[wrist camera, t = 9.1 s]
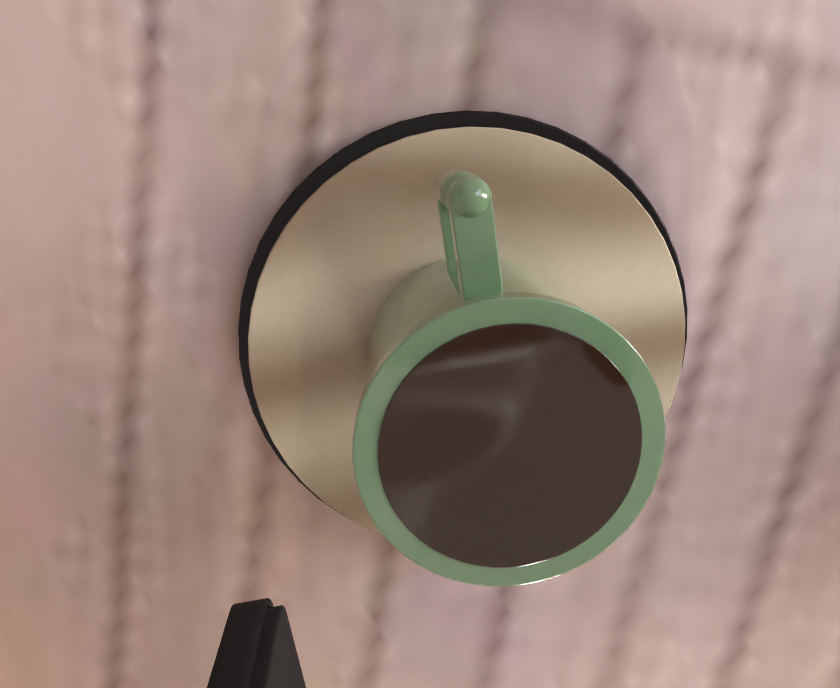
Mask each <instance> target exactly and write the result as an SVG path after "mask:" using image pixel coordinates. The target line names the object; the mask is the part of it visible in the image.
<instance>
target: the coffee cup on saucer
mask: <svg viewBox="0 0 840 688" xmlns="http://www.w3.org/2000/svg"><path fill="white" fill-rule="evenodd" d="M684 348H685V314H684V305H683V296H682V290H681V286H680V282H679V279H678V275H677V271H676V267H675V264H674V262H673V259H672V257H671V254H670V252H669V250H668V247H667V245H666V242H665V240H664V238H663V237H662V235H661V233H660V232H659V230H658V228H657V226H656V225H655V223H654V221H653V220H652V218H651V216H650V215H649V214H648V212H647V211H646V210H645V209H644V207H643V206H642V205H641V204H640V202H639V201H638V200H637V199H636V197H635V196H634V195H633V194H632V193H631V192H630V191H629V190H628V189H627V188H626V187H625V186H624V185H623V184H622V183H621V182H619V181H618V180H617V179H616V178H615V177H614V176H613V175H612V174H611V173H609V172H608V171H606V170H605V169H604V168H602V167H601V166H599V165H598V164H596V163H595V162H594V161H592V160H591V159H589V158H588V157H586V156H584V155H582V154H580V153H578V152H576V151H574V150H572V149H570V148H568V147H566V146H564V145H562V144H560V143H557V142H554V141H551V140H548V139H545V138H543V137H540V136H537V135H534V134H530V133H525V132H519V131H514V130H509V129H503V128H489V127H459V128H448V129H438V130H433V131H429V132H424V133H420V134H416V135H411V136H407V137H404V138H402V139H399V140H397V141H394V142H391V143H389V144H386V145H383V146H381V147H378V148H376V149H375V150H373V151H371V152H369V153H367V154H365V155H364V156H362V157H360V158H358V159H356V160H354V161H353V162H351V163H350V164H348V165H347V166H345V167H344V168H343V169H341V170H340V171H339V172H337V173H336V174H335V175H333V176H332V177H331V178H329V179H328V180H327V181H326V182H324V183H323V184H322V185H321V186H320V187H319V188H318V189H317V190H316V191H315V192H314V193H313V194H312V195H311V196H310V197H309V198H308V199H307V200H306V201H305V202H304V203H303V204H302V206H301V207H300V208H299V209H298V211H297V212H296V213H295V215H294V216H293V217H292V218H291V220H290V221H289V222H288V224H287V225H286V226H285V227H284V229H283V231H282V233H281V234H280V236H279V238H278V239H277V241H276V243H275V245H274V246H273V248H272V250H271V252H270V253H269V256H268V258H267V261H266V263H265V266H264V268H263V270H262V273H261V275H260V278H259V280H258V284H257V288H256V292H255V296H254V300H253V304H252V308H251V315H250V324H249V333H248V352H249V369H250V374H251V380H252V386H253V392H254V395H255V398H256V402H257V405H258V408H259V411H260V414H261V418H262V420H263V422H264V424H265V426H266V428H267V430H268V432H269V435H270V437H271V439H272V441H273V443H274V444H275V446H276V447H277V449H278V450H279V452H280V454H281V455H282V457H283V458H284V460H285V461H286V463H287V464H288V466H289V467H290V468H291V469H292V470H293V471H294V472H295V474H296V475H297V476H298V477H299V478H300V479H301V481H302V482H303V483H304V484H305V485H306V486H307V487H308V488H309V489H310V490H311V491H313V492H314V493H315V494H316V495H317V496H318V497H319V498H320V499H322V500H323V501H324V502H325V503H326V504H328V505H329V506H331V507H332V508H334V509H335V510H337V511H338V512H339V513H341V514H342V515H344V516H345V517H347V518H349V519H351V520H353V521H355V522H357V523H359V524H360V525H362V526H364V527H366V528H368V529H370V530H373V531H376V532H379V533H381V534H383V535H384V536H385V538H386V539H387V540H388V541H389V542H390V543H391V544H392V545H393V546H394V547H395V548H397V549H398V550H399V551H400V552H401V553H402V554H403V555H405V556H406V557H408V558H409V559H410V560H412V561H413V562H415V563H416V564H418V565H419V566H421V567H423V568H425V569H427V570H429V571H431V572H433V573H435V574H438V575H441V576H443V577H446V578H449V579H452V580H455V581H460V582H464V583H468V584H474V585H483V586H515V585H524V584H530V583H534V582H539V581H543V580H547V579H550V578H553V577H556V576H559V575H562V574H564V573H567V572H569V571H571V570H573V569H575V568H577V567H579V566H581V565H583V564H585V563H586V562H588V561H590V560H591V559H593V558H594V557H596V556H597V555H599V554H600V553H602V552H603V551H604V550H605V549H607V548H608V547H609V546H610V545H612V544H613V543H614V542H615V541H616V540H617V539H618V538H619V537H620V536H621V535H622V534H623V533H624V532H625V531H626V530H627V529H628V528H629V526H630V525H631V524H632V523H633V521H634V520H635V519H636V518H637V516H638V515H639V514H640V512H641V510H642V509H643V507H644V505H645V504H646V502H647V500H648V499H649V497H650V495H651V492H652V490H653V488H654V486H655V483H656V481H657V478H658V475H659V471H660V468H661V465H662V460H663V453H664V447H665V417H666V415H667V412H668V410H669V408H670V405H671V403H672V401H673V398H674V394H675V391H676V388H677V384H678V381H679V377H680V374H681V367H682V361H683V355H684Z"/></svg>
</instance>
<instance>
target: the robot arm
mask: <svg viewBox="0 0 840 688" xmlns="http://www.w3.org/2000/svg"><path fill="white" fill-rule="evenodd" d="M207 688H306V686H305V682H304V678H303V675H302V671H301V667H300V663H299V659H298V655H297V651H296V647H295V643H294V640H293V636H292V632H291V628H290V624H289V620H288V616H287V613H286V609H285V607H284V606H283V605H281V606H275V607H274V606H273V603H272V601H271V600H270V599H269V598H265V599H260V600H254V601H248V602H243V603H237V604H234V605H232V607H231V609H230V612H229V616H228V619H227V622H226V626H225V629H224V632H223V636H222V639H221V642H220V646H219V649H218V652H217V656H216V659H215V662H214V666H213V669H212V672H211V676H210V679H209V682H208V686H207Z"/></svg>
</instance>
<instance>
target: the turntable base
mask: <svg viewBox="0 0 840 688" xmlns="http://www.w3.org/2000/svg"><path fill="white" fill-rule="evenodd" d="M459 127H489V128H503V129H509V130H514V131H519V132H525V133H530V134H534V135H537V136H540V137H543V138H545V139H548V140H551V141H554V142H557V143H560V144H562V145H564V146H566V147H568V148H570V149H572V150H574V151H576V152H578V153H580V154H582V155H584V156H586V157H588V158H589V159H591V160H592V161H594V162H595V163H596V164H598V165H599V166H601V167H602V168H604V169H605V170H606V171H608V172H609V173H611V174H612V175H613V176H614V177H615V178H616V179H617V180H618V181H619V182H621V183H622V184H623V185H624V186H625V187H626V188H627V189H628V190H629V191H630V192H631V193H632V194H633V195H634V196H635V197H636V199H637V200H638V201H639V202H640V204H641V205H642V206H643V207H644V209H645V210H646V211H647V212H648V214H649V215H650V216H651V218H652V220H653V221H654V223H655V225H656V226H657V228H658V230H659V232H660V233H661V235H662V237H663V238H664V240H665V242H666V245H667V247H668V250H669V252H670V254H671V257H672V259H673V262H674V264H675V267H676V271H677V275H678V279H679V282H680V286H681V290H682V296H683V305H684V314H685V346H686V339H687V303H686V295H685V286H684V280H683V276H682V272H681V268H680V264H679V260H678V257H677V253H676V251H675V248H674V246H673V244H672V241H671V239H670V236H669V234H668V232H667V229H666V227H665V225H664V224H663V222H662V220H661V218H660V217H659V215H658V213H657V212H656V210H655V208H654V207H653V205H652V203H651V202H650V201H649V199H648V198H647V197H646V196H645V194H644V193H643V192H642V191H641V189H640V188H639V187H638V186H637V184H636V183H635V182H634V181H633V179H632V178H630V177H629V176H628V175H627V174H626V173H625V172H624V171H623V170H622V169H621V168H620V167H619V166H618V165H616V164H615V163H614V162H613V161H612V160H611V159H610V158H608V157H607V156H606V155H604V154H603V153H601V152H600V151H598V150H597V149H596V148H594V147H593V146H591V145H590V144H588V143H587V142H585V141H583V140H581V139H579V138H577V137H575V136H573V135H571V134H569V133H567V132H565V131H563V130H561V129H559V128H557V127H554V126H551V125H548V124H545V123H542V122H539V121H536V120H533V119H530V118H527V117H521V116H516V115H510V114H505V113H500V112H486V111H456V112H445V113H435V114H429V115H425V116H421V117H417V118H412V119H408V120H404V121H400V122H398V123H395V124H392V125H390V126H387V127H385V128H382V129H380V130H377V131H374V132H372V133H370V134H368V135H366V136H364V137H362V138H361V139H359V140H357V141H355V142H353V143H352V144H350V145H348V146H346V147H344V148H343V149H341V150H340V151H339V152H337V153H336V154H335V155H333V156H332V157H331V158H329V159H328V160H327V161H325V162H324V163H323V164H321V165H320V166H319V167H317V168H316V169H315V170H314V171H313V172H312V173H311V174H310V175H309V176H308V177H307V178H306V179H305V180H304V181H303V182H302V183H301V184H300V185H299V186H298V187H297V188H296V189H295V190H294V191H293V192H292V194H291V195H290V196H289V198H288V199H287V200H286V201H285V203H284V204H283V205H282V207H281V208H280V209H279V211H278V212H277V213H276V214H275V216H274V218H273V219H272V221H271V223H270V225H269V226H268V228H267V230H266V232H265V234H264V235H263V237H262V239H261V241H260V242H259V245H258V247H257V250H256V252H255V255H254V257H253V260H252V263H251V265H250V268H249V270H248V274H247V278H246V282H245V286H244V290H243V294H242V298H241V307H240V317H239V326H238V334H239V358H240V364H241V370H242V375H243V381H244V386H245V389H246V392H247V395H248V398H249V401H250V405H251V408H252V411H253V413H254V415H255V417H256V419H257V421H258V424H259V426H260V428H261V430H262V432H263V434H264V436H265V438H266V439H267V441H268V442H269V444H270V445H271V447H272V448H273V450H274V451H275V453H276V454H277V456H278V457H279V459H280V460H281V461H282V463H283V464H284V465H285V466H286V467H287V468H288V470H289V471H290V472H291V473H292V474H293V475H294V476H295V478H296V479H297V480H298V481H299V482H300V483H301V484H303V485H304V486H305V487H306V488H307V489H308V490H309V491H310V492H312V493H313V494H314V495H315V496H316V497H317V498H318V499H320V498H319V497H318V496H317V495H316V494H315V493H314V492H313V491H311V490H310V489H309V488H308V487H307V486H306V485H305V484H304V483H303V482H302V481H301V479H300V478H299V477H298V476H297V475H296V474H295V472H294V471H293V470H292V469H291V468H290V467H289V466H288V464H287V463H286V461H285V460H284V458H283V457H282V455H281V454H280V452H279V450H278V449H277V447H276V446H275V444H274V443H273V441H272V439H271V437H270V435H269V432H268V430H267V428H266V426H265V424H264V422H263V420H262V418H261V414H260V411H259V408H258V405H257V402H256V398H255V395H254V392H253V386H252V380H251V374H250V369H249V352H248V333H249V324H250V315H251V308H252V304H253V300H254V296H255V292H256V288H257V284H258V280H259V278H260V275H261V273H262V270H263V268H264V266H265V263H266V261H267V258H268V256H269V253H270V252H271V250H272V248H273V246H274V245H275V243H276V241H277V239H278V238H279V236H280V234H281V233H282V231H283V229H284V227H285V226H286V225H287V224H288V222H289V221H290V220H291V218H292V217H293V216H294V215H295V213H296V212H297V211H298V209H299V208H300V207H301V206H302V204H303V203H304V202H305V201H306V200H307V199H308V198H309V197H310V196H311V195H312V194H313V193H314V192H315V191H316V190H317V189H318V188H319V187H320V186H321V185H322V184H323V183H324V182H326V181H327V180H328V179H329V178H331V177H332V176H333V175H335V174H336V173H337V172H339V171H340V170H341V169H343V168H344V167H345V166H347V165H348V164H350V163H351V162H353V161H354V160H356V159H358V158H360V157H362V156H364V155H365V154H367V153H369V152H371V151H373V150H375V149H376V148H378V147H381V146H383V145H386V144H389V143H391V142H394V141H397V140H399V139H402V138H404V137H407V136H411V135H416V134H420V133H424V132H429V131H433V130H438V129H448V128H459ZM684 352H685V348H684ZM683 359H684V355H683ZM682 365H683V361H682ZM681 369H682V367H681ZM320 500H321V501H323V500H322V499H320ZM323 502H324V501H323ZM324 503H325V502H324ZM327 505H328V504H327ZM330 507H331V506H330ZM333 509H334V508H333ZM334 510H335V509H334ZM336 511H337V510H336ZM337 512H338V511H337ZM340 514H341V513H340Z"/></svg>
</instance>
